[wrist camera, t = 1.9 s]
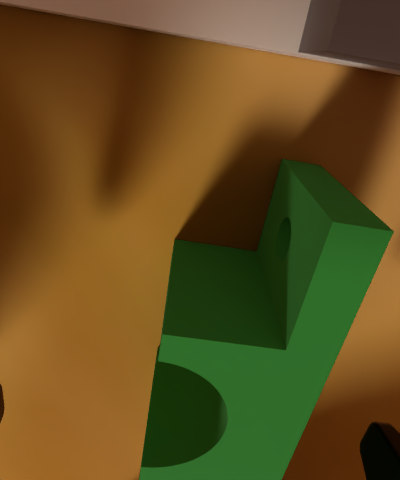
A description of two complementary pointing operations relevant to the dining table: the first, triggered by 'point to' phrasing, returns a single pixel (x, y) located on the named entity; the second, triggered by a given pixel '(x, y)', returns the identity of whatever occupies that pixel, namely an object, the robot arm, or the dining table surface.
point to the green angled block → (258, 332)
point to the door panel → (259, 25)
